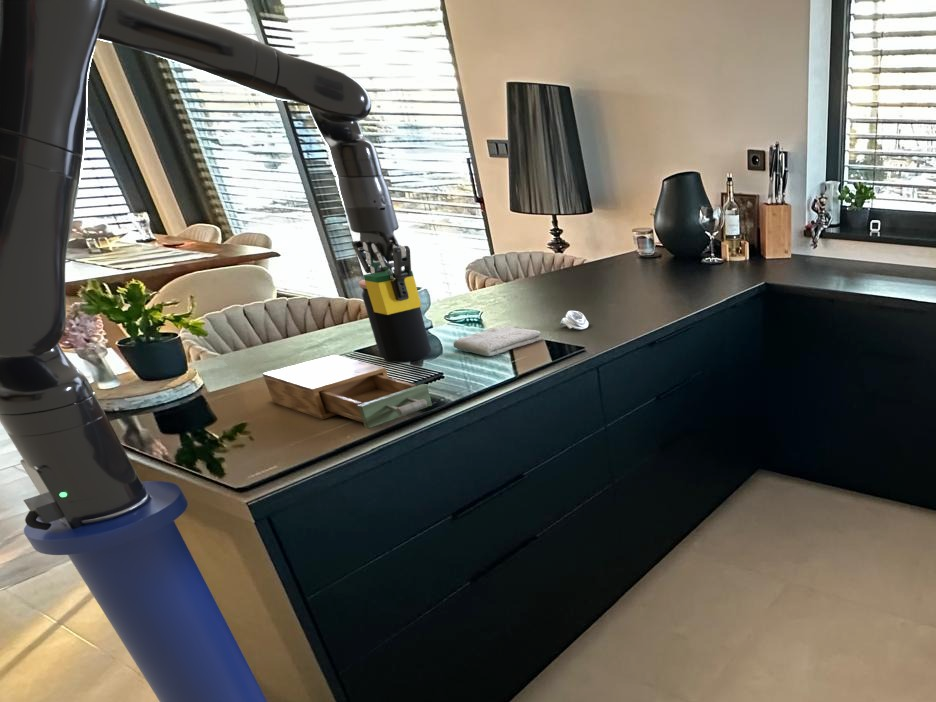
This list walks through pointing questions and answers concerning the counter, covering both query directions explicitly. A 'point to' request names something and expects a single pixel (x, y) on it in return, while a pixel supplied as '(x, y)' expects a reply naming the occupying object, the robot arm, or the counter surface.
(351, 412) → the drawer
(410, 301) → the sponge
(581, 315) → the whipped cream
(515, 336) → the washcloth
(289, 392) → the cabinet
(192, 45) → the robot arm
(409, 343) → the coffee jar
